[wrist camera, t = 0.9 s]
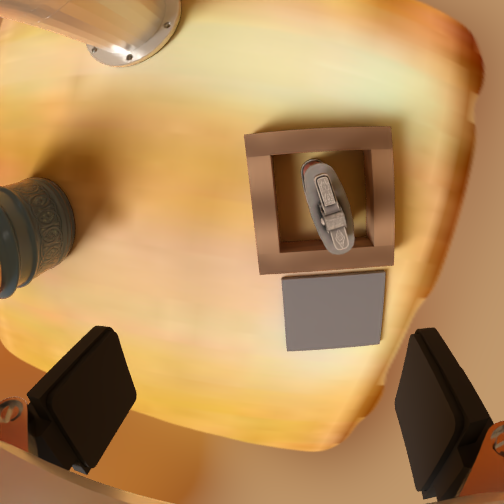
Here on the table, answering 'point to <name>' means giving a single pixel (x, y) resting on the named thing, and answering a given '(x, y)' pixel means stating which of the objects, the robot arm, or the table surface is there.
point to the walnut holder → (314, 251)
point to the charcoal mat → (333, 310)
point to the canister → (32, 231)
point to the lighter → (328, 206)
